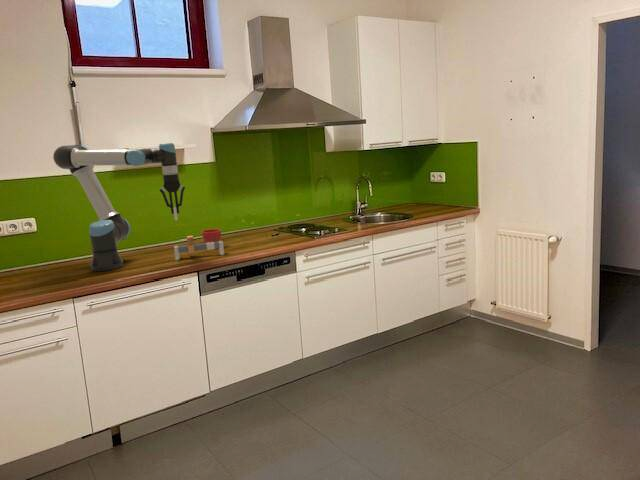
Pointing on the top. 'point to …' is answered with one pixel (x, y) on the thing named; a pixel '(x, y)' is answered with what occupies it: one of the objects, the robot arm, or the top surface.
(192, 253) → the collar
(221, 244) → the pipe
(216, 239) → the flower pot
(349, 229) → the top surface
